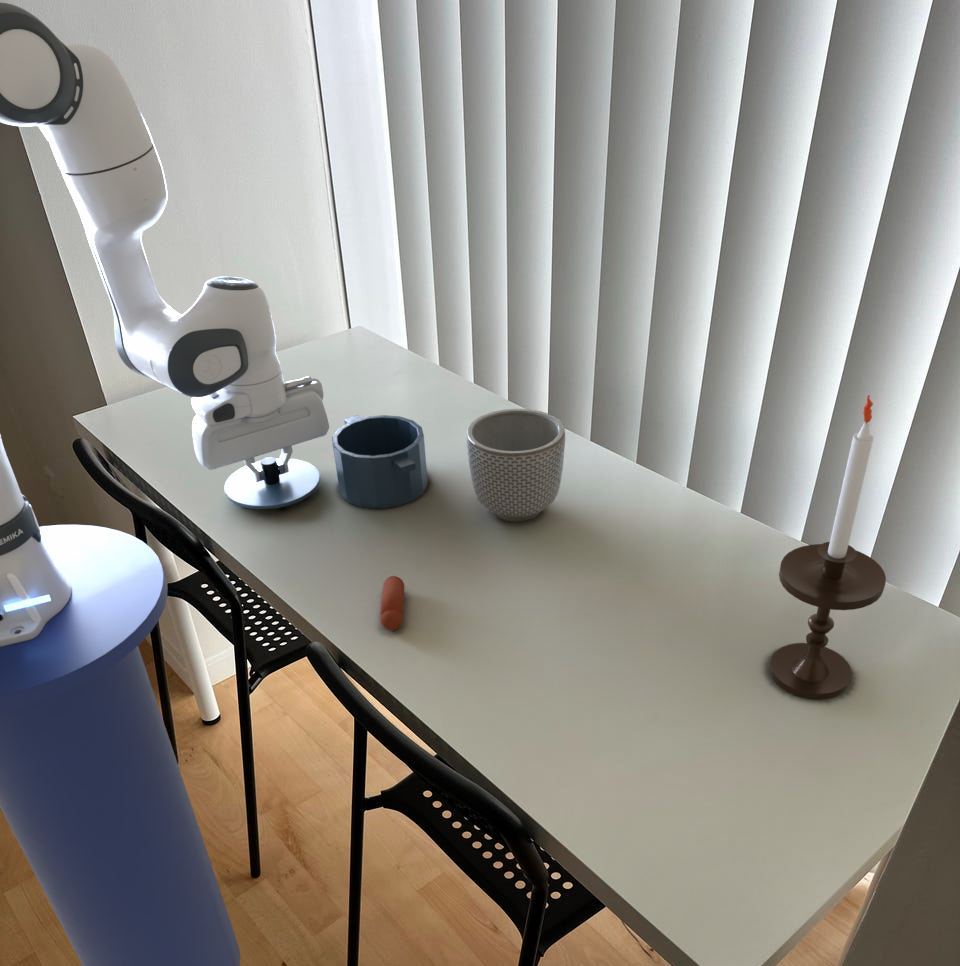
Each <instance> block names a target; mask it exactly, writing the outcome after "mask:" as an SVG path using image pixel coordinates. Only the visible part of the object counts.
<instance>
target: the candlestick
mask: <svg viewBox="0 0 960 966" xmlns="http://www.w3.org/2000/svg"><path fill="white" fill-rule="evenodd" d="M870 397H871V396H870V395H869V394H868V395H867V397H866V403H865V405H864V406H863V411H862V415H863V423H862V426H861V428H860V430H859V432H855V433H853V436H852V440H851V444H850V449H849V454H848V457H847V462H846V467H845V472H844V476H843V481H842V485H841V490H840V494H839V498H838V503H837V506H836V507H837V508H836V512H835V517H834V521H833V525H832V526H833V527H832V531H831V534H830V540H829V541H826V542H822V543H817V544H816V543H815V544H808V545H803V546H799V547H796V548H794V549H793V550H792V549H791V551H789V552H787V554H786V555H785V556H783V558H782V559H781V562H780V565H779V572H778V577H779V582H780V584H781V585H782V587H783V588H784V589H785V591H786V592H787V593H788V594H790V595H791V596H792V597H794V598H796V599H797V600H799V601H801V602H803V603H805V604H808V605H810V606H814V607H817V610H816V613H814V614H811V615H810V616H809V617H808V620H807V624H808V625H807V626H808V628H809V629H810V631H811V632H808V633H807V634H806V636H805V642H797V643H796V642H795V643H790V644H786V645H783V646H782V647H780V648H779V649H777V650H776V651H775V652H774V653H773V654H772V656H771V658H770V664H769V668H768V669H769V674H770V676H771V679H772V680H773V681H774V683H775V684H776V685H777V686H778V687H779V688H780V689H782V690H784V691H785V692H786V693H789V694H790V695H793V696H795V697H799V698H803V699H808V700H817V701H818V700H828V699H833V698H836V697H838V696H840V695H842V694H843V693H845V692H846V690H847V689H848V688H849V686H850V683H851V679H852V673H853V672H852V668H851V666H850V664H849V662H848V661H847V660H846V658H844V656H842V655H841V654H840V653H839V652H837V651H835V650H833V649H831V648H828V647H827V646H828V644H829V637H828V635H827V634H828V633H829V632H831V631H832V630H833V629H834V626H835V621H834V619H833V618H832V617H831V616H830V613H831V610H832V611H853V610H858V609H862V608H867V607H868V606H870V605H872V604H874V603H875V602H878V600H879V599H880V598H881V597H882V595H883V593H884V590H885V586H886V581H887V576H886V574H885V571H884V569H883V568H882V566H881V564H879V563H878V562H877V561H876V560H875V559H873V558H872V557H870V556H869V555H867V554H866V553H863V552H861V551H860V550H856V549H855V548H854V547H853V546H851V545H849V544H850V541H851V535H852V531H853V526H854V523H855V519H856V513H857V510H858V505H859V501H860V498H861V493H862V488H863V484H864V480H865V475H866V472H867V468H868V463H869V458H870V454H871V450H872V448H873V447H872V446H873V443H874V436H873V435H872V434H871V433H870V422H871V421H872V418H873V415H872V412H873V410H872V407H873V405H874V403H873V401H872V400H871V399H870Z"/></svg>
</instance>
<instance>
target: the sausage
mask: <svg viewBox="0 0 960 966" xmlns="http://www.w3.org/2000/svg"><path fill="white" fill-rule="evenodd" d="M404 603H405V583H404V581H403V579H402V578H401V577H399V576H397V575H392V576H389V577H387V578H385V580H384V582H383V585H382V594H381V605H380V617H379V618H380V619H379V620H380V625H381V627H383V628H384V629H385V630H387V631H396V630H398V629H399V628H400V627H401V626H402V624H403V620H404V619H403V618H404Z"/></svg>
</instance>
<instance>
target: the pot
mask: <svg viewBox="0 0 960 966" xmlns="http://www.w3.org/2000/svg"><path fill="white" fill-rule="evenodd" d="M343 419H344V425H342V426H340V427H339V428H337V430H336V431H335V432H334V433H333V435H332V437H331V438H332V439H331V441H332V450H333V457H334V462H335V470H336V476H337V482H338V483H337V484H338V488H339V493H340V495H341V497H342V498H343V499H344V500H345V501H346V502H348V503H349V504H351V505H354V506H357V507H360V508H366V509H389V508H394V507H398V506H399V507H400V506H402V505H405V504H408V503H410V502H413V501H414V500H416V499H418V498H419V497H420V496H422V495H423V493H424V492H425V491H426V489H427V487H428V481H429V480H428V470H427V469H428V468H427V455H426V445H425V444H426V443H425V434H424V430H423V427H422V426H421V425H420V424H418V423H417V422H416V421H415V420H413V419H410V418H406V417H403V416H400V415H389V414H387V415H386V414H381V415H372V416H371V415H370V416H364V417H361V416H360V415H358V414H357V415H353V416H350V417H346V418H343Z"/></svg>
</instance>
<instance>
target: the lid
mask: <svg viewBox="0 0 960 966" xmlns="http://www.w3.org/2000/svg"><path fill="white" fill-rule="evenodd" d="M279 458H280V457H276V458H275V457H273V456H267V457H263V458H262V459H261V460H258V461H255V463H252V464H253V466H254V467H257V466H261V468H262V469H263V470H264V472H265V475H264V476H265V477H266V479H265V480H263V481H259V482H256V481H255V480H254V478H253V476H252V471H251V469H250V468H249V467H248V466H247V465H246V464H245V465H244V466H242V467H240V468H238V469H237V470H236V471H234V472H232V473H231V474H230V476H228V477H227V478H226V480H225V483H224V486H223V489H224V490H223V491H224V494H225V497H226V498H227V499H228V500H229V502H231V503H233V504H234V505H236V506H239V507H241V508H246V509H252V510H272V509H273V510H274V509H278V508H279V509H280V508H283V507H289V506H291V505H294V504H296V503H299V502H301V501H303V500H305V499H307V498H309V497H310V496H311V495H312V494H313V493H314V492H316V490H317V489H318V488H319V486H320V483H321V474H320V472H319V469H318V468H317V467H316V466H315V465H314V464H312V463H310V462H308V461H306V460H302V459H298V458H293V457H290V459H289V462H288V469H289V472H288V473H285V474H281V475H279V472H278V466H277V461H276V460H279Z"/></svg>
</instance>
